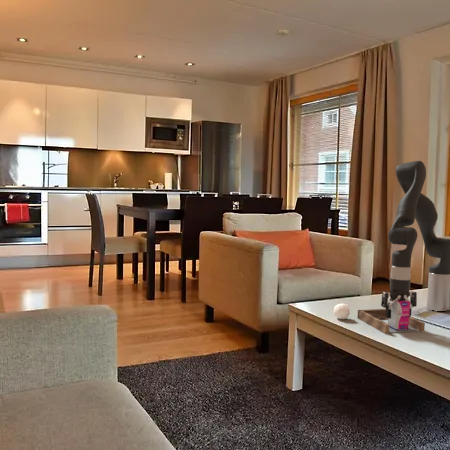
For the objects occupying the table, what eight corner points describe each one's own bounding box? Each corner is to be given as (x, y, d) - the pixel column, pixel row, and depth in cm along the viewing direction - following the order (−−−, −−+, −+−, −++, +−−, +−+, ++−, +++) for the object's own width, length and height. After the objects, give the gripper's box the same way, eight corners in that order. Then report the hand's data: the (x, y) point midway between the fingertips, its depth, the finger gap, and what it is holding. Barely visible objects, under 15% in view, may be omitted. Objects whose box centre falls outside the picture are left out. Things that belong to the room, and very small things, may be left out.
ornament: (337, 315, 204) (348, 302, 203) (345, 325, 199) (356, 312, 197) (327, 309, 201) (339, 296, 200) (335, 319, 195) (347, 306, 194)
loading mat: (377, 326, 190) (377, 325, 190) (404, 324, 193) (404, 324, 193) (389, 333, 181) (389, 332, 181) (418, 331, 184) (418, 330, 184)
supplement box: (396, 330, 184) (397, 302, 183) (387, 326, 189) (388, 298, 188) (409, 329, 185) (410, 301, 184) (399, 325, 191) (401, 297, 190)
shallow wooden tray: (357, 318, 201) (357, 310, 201) (392, 316, 205) (393, 308, 205) (385, 333, 180) (385, 325, 180) (424, 331, 184) (424, 323, 184)
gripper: (410, 275, 190) (408, 314, 192) (378, 275, 187) (376, 315, 189) (422, 278, 183) (419, 319, 185) (389, 279, 180) (387, 321, 181)
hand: (398, 317), depth 187 cm, fingers open, 8 cm apart
